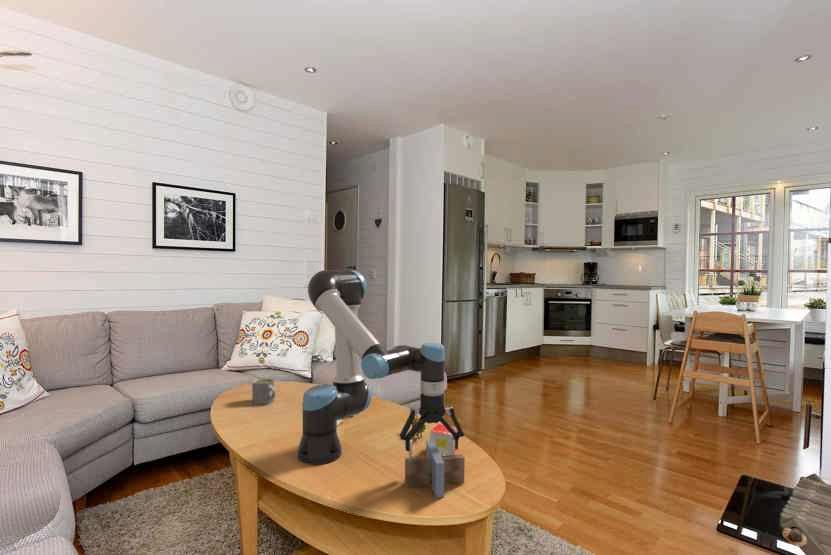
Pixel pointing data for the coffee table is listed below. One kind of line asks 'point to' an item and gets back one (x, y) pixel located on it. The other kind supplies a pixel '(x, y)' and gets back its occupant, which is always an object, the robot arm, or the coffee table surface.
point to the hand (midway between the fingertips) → (431, 459)
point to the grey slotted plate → (435, 468)
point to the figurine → (419, 429)
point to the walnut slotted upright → (421, 476)
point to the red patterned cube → (442, 439)
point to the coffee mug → (263, 391)
